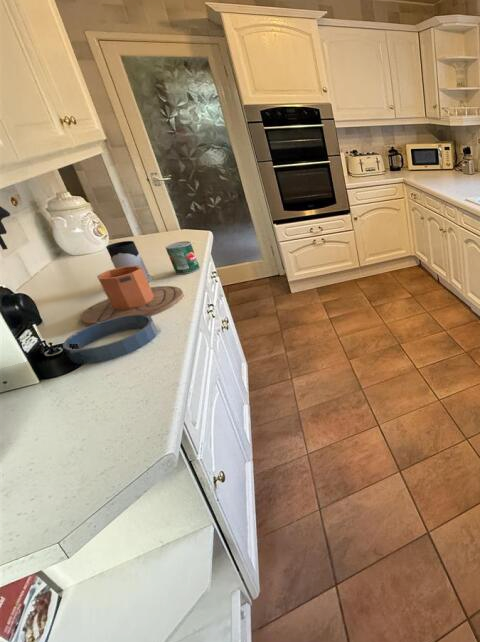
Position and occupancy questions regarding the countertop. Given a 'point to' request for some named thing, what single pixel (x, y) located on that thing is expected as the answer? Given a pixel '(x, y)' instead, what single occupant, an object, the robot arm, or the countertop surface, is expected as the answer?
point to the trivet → (161, 302)
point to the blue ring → (115, 347)
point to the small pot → (126, 287)
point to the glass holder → (126, 256)
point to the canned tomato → (182, 257)
